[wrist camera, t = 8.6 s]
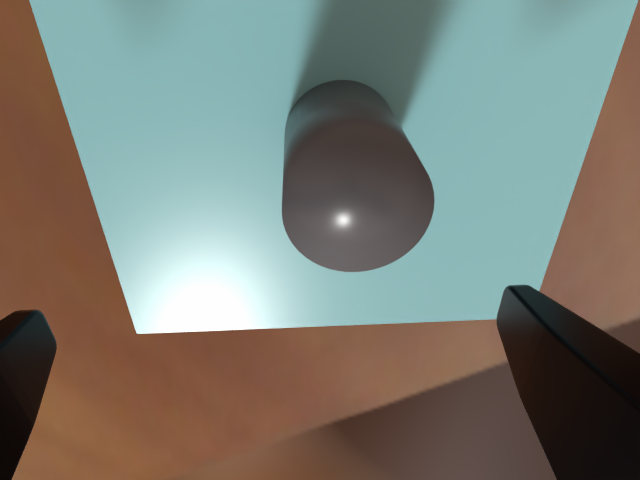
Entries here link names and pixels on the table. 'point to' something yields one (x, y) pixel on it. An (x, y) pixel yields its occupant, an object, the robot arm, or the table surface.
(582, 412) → the robot arm
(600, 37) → the cover
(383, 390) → the table surface
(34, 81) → the table surface
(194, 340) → the table surface
